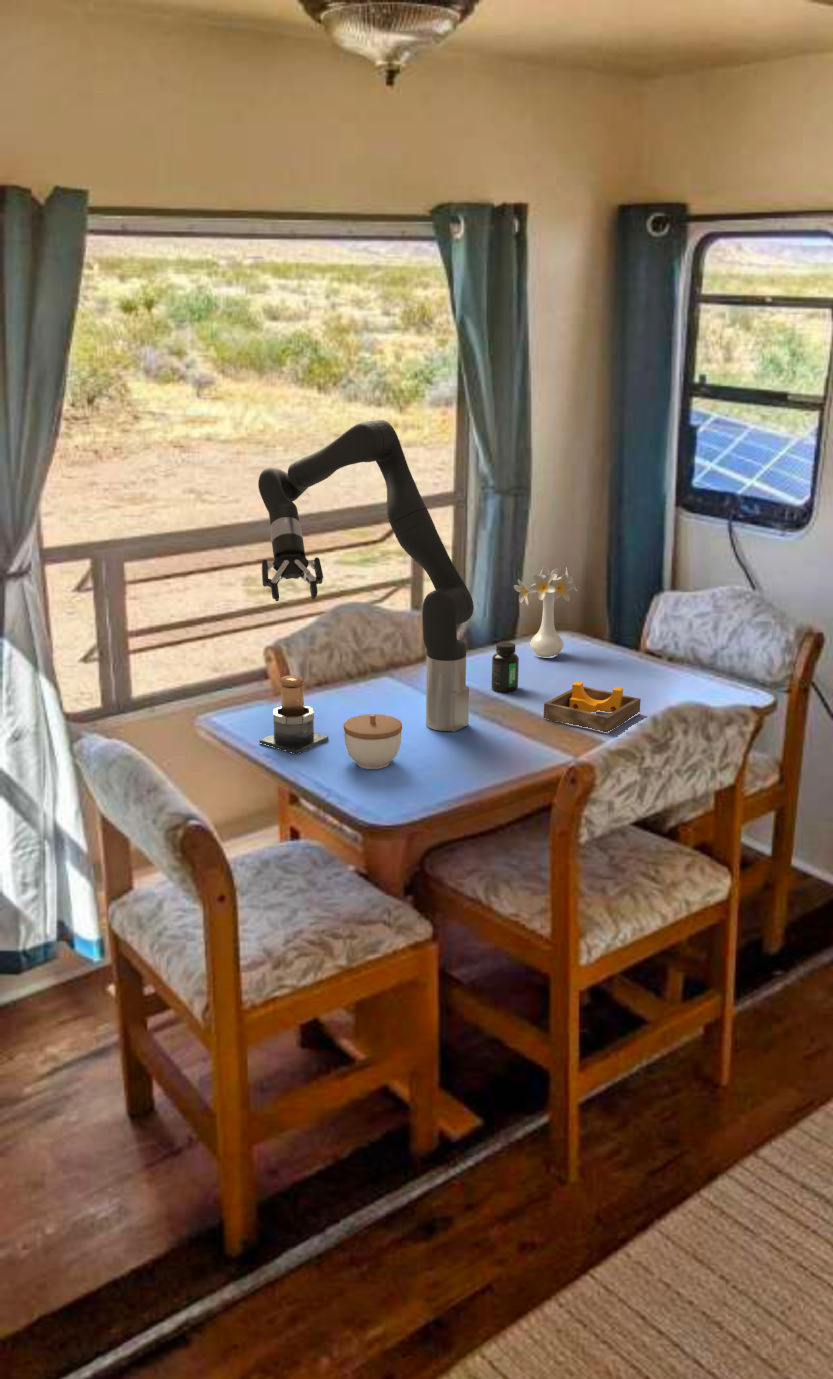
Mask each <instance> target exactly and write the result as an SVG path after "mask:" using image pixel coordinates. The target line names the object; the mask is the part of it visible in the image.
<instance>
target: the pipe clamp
mask: <svg viewBox="0 0 833 1379" xmlns="http://www.w3.org/2000/svg"><path fill="white" fill-rule="evenodd" d="M571 684H572V686H571V689H572V697H571V698H570V705H569V708H574V709H578V710H582V711H587V712H596V711H597V710H600V711H605V712H614V711H615V710H617V709H619V708H621V707H622V698H623V695H624V693H623V692H624V687H620V686H614V688H613V689H612V695H611V697H609V698H608V699H606V700H595V699H592V698H591V697H589V696H588V695H587V694H586V692H585V690H584V688H583V686H584V683H583V682H582V681H574V682H573V683H571ZM614 707H615V708H616V709H615V708H614Z"/></svg>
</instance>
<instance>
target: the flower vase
mask: <svg viewBox="0 0 833 1379" xmlns="http://www.w3.org/2000/svg"><path fill="white" fill-rule="evenodd" d="M559 572H560V568H559V567H557V568H554V569H553V570H552V571H551V572H550V570H549V568H548V567H547V566H542V568H541V570H540V572H539V574H537V573H535V574H533V576H532V579H533V581H534V583H533V584H531V585H530V586H529V587H527V586H526V585H525V584H523V582H522V581H521V579H517V583H518V585H517V584H515V585H513V589H514V590H515V591H516V592H518V593H520V594H519V595H518V602H519V603H520V604H522V603H524V601H525V604H526V605H527V606H529V604H530V603H529V597H530V596H529V595H530V594H532V593H537V598H538V600H539V601H542V615H541V616H542V617H541V624H540V627H539V629H538V631H537V633H536V634H534V635H533V636H532V638H531V640H530V643H529V646H530V649H531V650H532V651H533V653H536V655H538V656H541V657H550V656H554V655H556V654H557V655H558V654H559V653H560V652H561V651H562V650H563V648H564V642H563V639H562V637H561V636H560V635H559V633H557V631H556V627H555V621H554V613H555V612H554V610H555V608H554V607H555V606H554V605H555V601H558V600H559V599H560V598H561V597H562V598H563V599H564V600H565V601H566V602H570V601H571V596H570V593H569V592H570V591H572V590H574V591H575V592H579V591H578V589H577V587H576V584H575V583H574V581H575V580H574V578H573V576H572V575H569V570H568V567H567V566H566V567H565V573H564V574H562V575H561V576H559V577H558V574H559ZM536 655H535V656H536Z"/></svg>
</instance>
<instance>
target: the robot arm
mask: <svg viewBox="0 0 833 1379" xmlns="http://www.w3.org/2000/svg"><path fill="white" fill-rule="evenodd" d="M372 462H376V465H377V466H378V468H379V471H380V472H381V474H382V476H383V479H384V482H385V486H386V513H387V519H388V522H389V525H390V527H391V529H392V531H393V534H394V536H395V538H396V540H397V542H398V543H399V546H400V547H401V548H402V549H403V550H404V552H406V553H407V554H408V555H409V556H410V557H411V558H412V559H413V560H414V561H415V562H416V563H417V564H418V565H419V566H420V567H421V568H422V569H423V570H424V572H425V573H426V574H427V575H428V577H429V580H430V581H431V584H432V585H433V588H434V590H432V591H430V592H429V593H428V594H427V595H426V596H425V597H424V599H423V601H422V602H423V603H422V612H421V618H422V621H421V622H422V639H423V640H422V641H423V643H424V646H425V649H426V676H425V677H426V681H425V682H426V684H425V685H426V690H425V692H426V693H425V694H426V696H425V699H426V701H425V708H426V709H425V725H426V727H427V728H430V729H431V730H434V731H438V732H439V731H441V732H453V733H454V732H457V731H459V730H461V729H462V728H463V729H464V727H467V726H469V720H470V718H469V716H470V715H469V713H470V712H469V711H470V687H469V686H467V685H466V682H467V681H466V680H467V678H466V676H467V675H466V674H467V673H466V672H467V644H466V643H465V642H464V641H462V640H461V639H458V634H457V626H459V625H461V624H463V623H465V622H468V621H469V620H470V619H471V618H472V616H473V613H474V601H473V598H472V595H471V593H470V591H469V589H468V587H467V585H466V583H465V582H464V580H463V578H462V576H460V574H459V571H458V570H457V569H456V567H455V564H454V563H453V561H452V559H451V557H450V556H449V554H448V551H447V549H446V546H445V545H444V543H443V541H442V539H441V537H440V534H439V533H438V530H437V529H436V528H437V527H436V526H435V523H434V520H433V519H432V516H431V514H430V512H429V510H428V508H427V505H426V504H425V502H424V500H423V498H422V496H421V493H420V491H419V489H418V487H417V484H416V482H415V479H414V477H413V475H412V473H411V470H410V468H409V465H408V461H407V459H406V456H405V453H404V450H403V448H402V445H401V442H400V440H399V436H398V434H397V432H396V430H395V429H394V427H393V426H392V424H391V423H390V422H388V421H386V420H385V419H373V420H366V421H364V420H363V421H360V422H357V423H355V424H354V425H353V426H351V427H350V428H349V429H346V430H345V431H344V432H343V433H342V434H341V435H340V436H338V437H337V438H336V439H334V440H333V441H332V442H330V443H328V444H327V445H326V446H324V447H322V448H320V449H318V450H315V451H313V452H311V453H309V454H306V455H305V456H302V457H300V458H298V459H297V460H295V461H293V462H292V463H290V465H289V466H288V469H287V472H286V471H283V470H281V469H280V468H277V467H275V466H269V467H266V468H264V469H263V470H262V471H261V473H260V474H259V478H258V483H257V485H258V492H259V493H260V497H261V499H262V501H263V503H264V506H265V509H266V510H267V512H268V517H269V523H270V542H271V545H272V553H273V561H268V560H266V559H262V563H261V578H262V586H263V587H269V588H270V590H271V598H272V600H274V601H275V602H279V601H280V593H279V587H278V584H280V583H281V581H282V580H283V579H285V580H290V579H295V580H296V579H299V578H300V579H301V580H303V582H306V583H308V584H309V592H310V599H311V600H315V599H316V598H317V597H318V585H321V584H322V583H323V580H324V574H323V569H322V564H321V561H320V558H319V557H318V556H317V557H315V558H314V559H308V558H307V556H306V551H305V545H304V537H303V532H302V527H301V525H300V524H301V523H300V520H299V519H300V518H299V512H298V507H297V505H296V504H295V503H294V502H295V501H296V500H297V499H299V498H300V497H301V496H302V495H303V493H304V492H306V491H307V489H309V488H310V487H312V486H315V485H317V484H319V483H321V482H323V481H325V480H326V479H328V478H330V477H331V476H332V475H333V474H334V473H335V472H337V471H338V470H340V469H341V468H345V467H347V466H351V465H355V464H359V463H372ZM308 567H311V569H312V570H314V572H315V576H314V574H313V573H311V571H310V569H308ZM272 568H273V569H274V571H276V572H275V574H274V576H273V577H272V578H269V572H270V571H271V569H272Z"/></svg>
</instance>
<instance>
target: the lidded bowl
mask: <svg viewBox="0 0 833 1379" xmlns="http://www.w3.org/2000/svg"><path fill="white" fill-rule="evenodd" d="M402 730H403V723H402V721H401V720H400V719H398V718H396V717H394V716H391V715H386V714H380V713H378V714H376V713H373V714H372V713H370V714H369V713H368V714H360V715H355V716H353V717H350V718H348V719H347V720H345V722H343V731H344V732H343V734H344V735H343V736H344V745H345V749H346V751H347V754H348V755H349V757H350V758H351V759H352V760H353V762H355V763H356V765H357V766H358V767H360V768H362V769H367V770H378V769H383V768H387V767H388V766H389V765H390V764H391V762H392V761H393V760H394V759H395V758H396V757H397V755H398V753H399V751H400V748H401V742H402Z"/></svg>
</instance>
